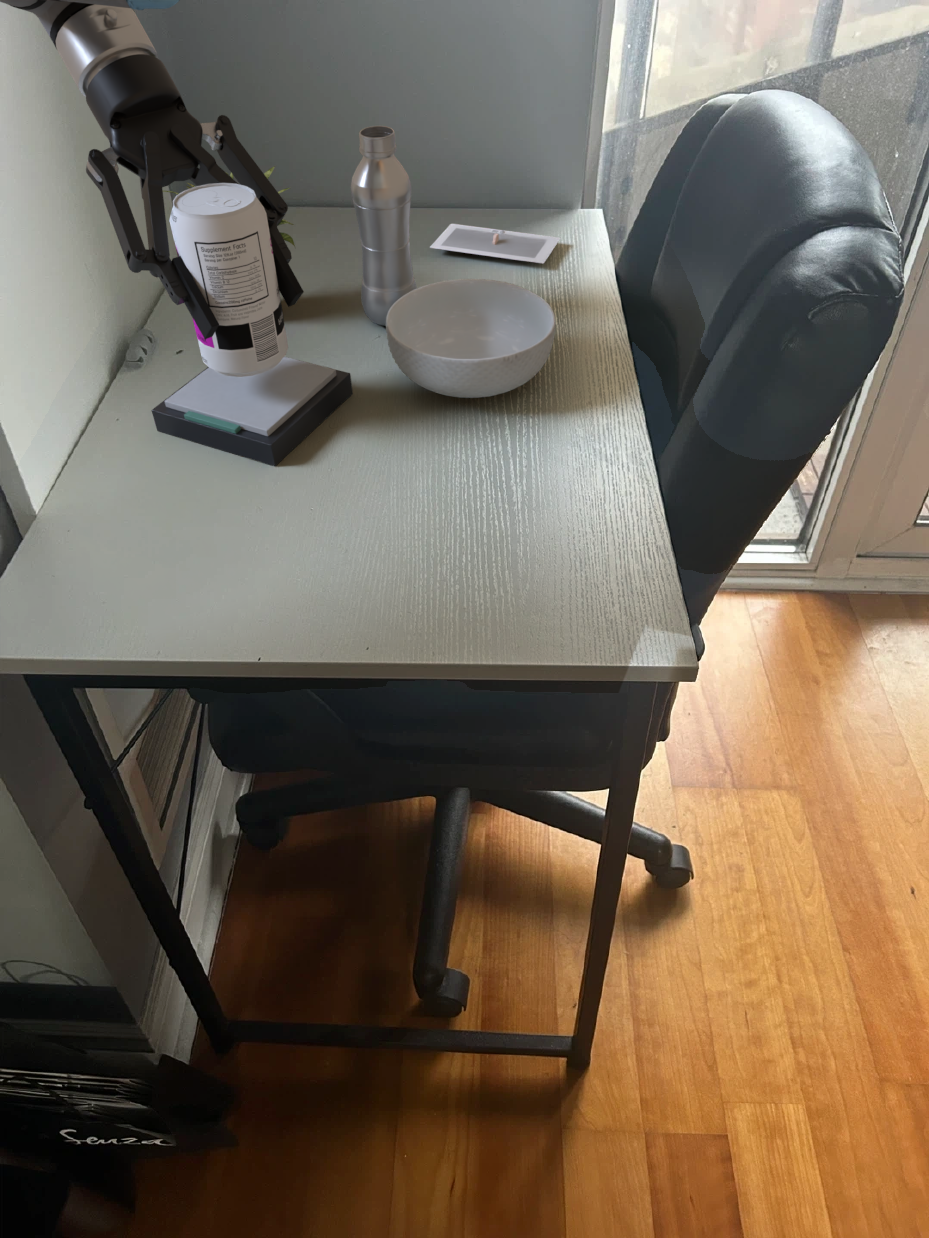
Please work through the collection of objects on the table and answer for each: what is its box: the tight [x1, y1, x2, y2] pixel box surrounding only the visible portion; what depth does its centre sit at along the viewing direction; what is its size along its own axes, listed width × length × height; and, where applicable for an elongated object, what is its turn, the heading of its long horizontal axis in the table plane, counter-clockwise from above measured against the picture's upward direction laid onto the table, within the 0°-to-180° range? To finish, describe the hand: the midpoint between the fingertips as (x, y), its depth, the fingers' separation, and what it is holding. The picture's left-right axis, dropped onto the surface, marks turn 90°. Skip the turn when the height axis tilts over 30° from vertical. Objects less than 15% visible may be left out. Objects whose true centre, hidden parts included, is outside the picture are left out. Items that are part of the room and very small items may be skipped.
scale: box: [151, 355, 354, 467], centre depth 94 cm, size 14×14×3 cm
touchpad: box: [429, 223, 562, 265], centre depth 120 cm, size 8×15×2 cm, turn 70°
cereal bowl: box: [385, 278, 557, 399], centre depth 96 cm, size 17×17×7 cm
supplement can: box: [169, 183, 289, 377], centre depth 85 cm, size 8×8×15 cm
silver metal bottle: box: [350, 125, 418, 327], centre depth 101 cm, size 6×7×20 cm
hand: (254, 315), depth 85 cm, fingers closed on supplement can, 8 cm apart
